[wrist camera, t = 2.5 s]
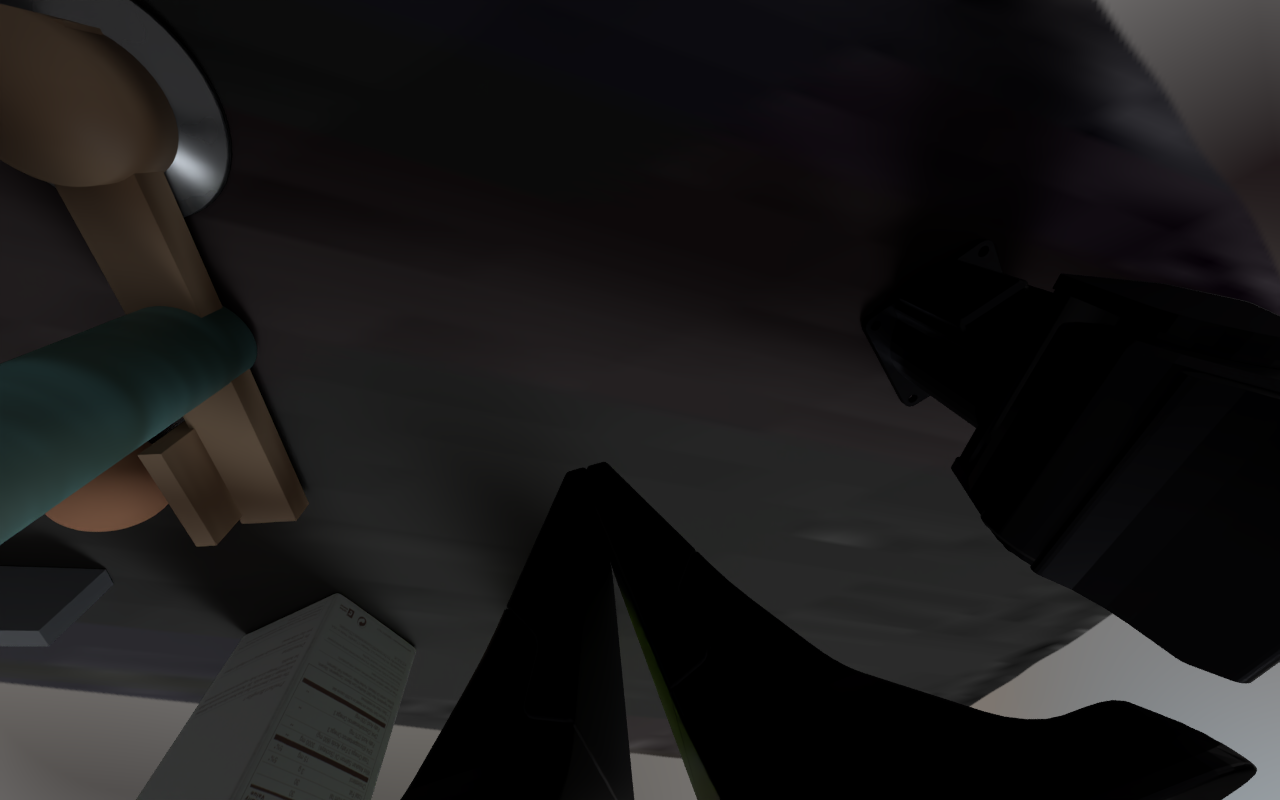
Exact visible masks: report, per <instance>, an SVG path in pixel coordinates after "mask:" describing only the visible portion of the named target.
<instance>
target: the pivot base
mask: <svg viewBox="0 0 1280 800" xmlns="http://www.w3.org/2000/svg"><path fill="white" fill-rule="evenodd" d="M0 4H4V5H8V6H12V7H16V8H20V9H24V10H29V11H33V12H37V13H41V14H45V15H50V16H54V17H58V18H62V19H66V20H70V21H74V22H77V23H80V24H84V25H88V26H92V27H96V28H100V29H101V31H102V34H104V35H106V36H107V37H109V38H110V39H112V40H114V41H115V42H116V43H118V44H119V45H120V46H122V47H123V48H125V49H126V50H127V51H128V52H129V53H130V54H132V55H133V56H134V57H135V58H136V59H137V60H138V61H139V62H140V63H141V64H142V65H143V66H144V67H145V68H146V69H147V70H148V72H149V73H150V74H151V75H152V76H153V78H154V79H155V80H156V82H157V83H158V85H159V86H160V87H161V89H162V91H163V92H164V94H165V96H166V97H167V99H168V101H169V104H170V106H171V108H172V110H173V113H174V116H175V119H176V123H177V128H178V137H179V141H178V150H177V154H176V157H175V159H174V161H173V163H172V164H171V166H170V167H169V168H168V169H167V170H166V171H165V172H164V175H165V177H166V179H167V182H168V184H169V186H170V188H171V191H172V193H173V195H174V197H175V200H176V202H177V204H178V207H179V209H180V211H181V213H182V216H183V217H187V216H190V215H193V214H195V213H198V212H199V211H201V210H203V209H205V208H206V207H208V206H209V205H210V204H211V203H212V202H213V201H215V200H216V198H217V197H218V196H219V195H220V193H221V192H222V190H223V188H224V186H225V184H226V182H227V180H228V177H229V173H230V170H231V162H232V142H231V136H230V130H229V126H228V123H227V119H226V116H225V112H224V110H223V108H222V105H221V103H220V100H219V98H218V96H217V94H216V92H215V90H214V88H213V86H212V84H211V83H210V81H209V79H208V77H207V76H206V74H205V73H204V71H203V70H202V68H201V67H200V65H199V64H198V62H197V61H196V60H195V58H194V57H193V56H192V55H191V53H190V52H189V51H188V50H187V48H186V47H185V46H184V45H183V44H182V43H181V42H180V40H179V39H178V38H177V37H176V36H175V35H174V34H173V33H172V32H171V31H170V30H169V29H168V28H167V27H166V26H165V25H164V24H163V23H161V22H160V21H159V20H158V19H157V18H156V17H155V16H154V15H153V14H151V13H150V12H149V11H147V10H146V9H145V8H143V7H142V6H141V5H140V4H138V3H137V2H136V1H134V0H0ZM48 183H49V182H48ZM49 184H51V185H52V186H54V187H55V185H54V184H53V183H49ZM55 188H56V187H55Z"/></svg>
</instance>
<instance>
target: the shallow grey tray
mask: <svg viewBox="0 0 1280 800" xmlns="http://www.w3.org/2000/svg"><path fill="white" fill-rule="evenodd" d="M112 585H113V582H112V580H111V578H110V577H109V575H108V573H107V571H106V569H79V568H48V567H17V566H0V646H50V645H51V644H52V643H53V642H54V641H55V640H56V639H57V638H58V637H59V636H60V635H61V634H62V633H64V632H65V631H66V630H67V629H68V628H69V627H70V626H71V625H72V624H73V623H74V622H75V621H76V620H77V619H78V618H79V617H80V616H81V615H82V614H83V613H84V612H85V611H86V610H87V609H88V608H89V607H91V606H92V605H93V604H94V603H95V602H96V601H97V600H98V599H99V598H100V597H101V596H102V595H103V594H104V593H105V592H106V591H107V590H108V589H109V588H110V587H111V586H112Z"/></svg>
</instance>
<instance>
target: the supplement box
mask: <svg viewBox="0 0 1280 800" xmlns="http://www.w3.org/2000/svg"><path fill="white" fill-rule="evenodd" d="M415 652H416V650H415V649H414V647H413V646H412V645H410V644H409V643H408V642H407V641H405V640H404V639H403V638H401V637H400V636H398V635H397V634H396V633H394V632H393V631H392V630H390V629H389V628H387V627H386V626H385V625H383V624H382V623H381V622H379V621H378V620H377V619H375V618H374V617H372V616H371V615H370V614H368V613H367V612H366V611H364V610H363V609H361V608H360V607H358V606H357V605H356V604H354V603H353V602H351V601H350V600H349V599H347V598H346V597H344V596H343V595H341V594H339V593H336V594H333V595H331V596H329V597H327V598H325V599H323V600H321V601H318V602H316V603H314V604H312V605H310V606H308V607H306V608H303V609H301V610H299V611H297V612H295V613H293V614H290V615H288V616H286V617H284V618H282V619H280V620H277V621H275V622H273V623H271V624H269V625H266V626H264V627H262V628H260V629H258V630H256V631H253V632H251V633H249V634H247V635H245V636H243V637H242V639H241V641H240V643H239V644H238V646H237V647H236V649H235V650H234V652H233V653H232V655H231V656H230V658H229V659H228V661H227V662H226V664H225V665H224V667H223V668H222V670H221V671H220V673H219V674H218V676H217V677H216V679H215V680H214V682H213V683H212V685H211V687H210V688H209V690H208V691H207V693H206V694H205V696H204V697H203V699H202V700H201V702H200V703H199V705H198V706H197V708H196V709H195V711H194V712H193V714H192V715H191V717H190V719H189V720H188V722H187V723H186V725H185V726H184V728H183V729H182V731H181V732H180V734H179V735H178V737H177V738H176V740H175V741H174V743H173V745H172V746H171V747H170V749H169V751H168V752H167V753H166V755H165V756H164V758H163V760H162V761H161V762H160V764H159V766H158V767H157V769H156V770H155V772H154V773H153V775H152V776H151V778H150V780H149V781H148V782H147V784H146V786H145V787H144V789H143V790H142V792H141V793H140V795H139V796H138V798H137V799H136V800H371V798H372V795H373V792H374V788H375V785H376V781H377V778H378V775H379V772H380V768H381V765H382V762H383V758H384V755H385V752H386V749H387V745H388V741H389V738H390V735H391V732H392V728H393V725H394V722H395V719H396V716H397V712H398V709H399V705H400V702H401V699H402V696H403V692H404V689H405V686H406V682H407V679H408V676H409V672H410V669H411V666H412V663H413V659H414V656H415Z"/></svg>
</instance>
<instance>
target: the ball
mask: <svg viewBox="0 0 1280 800" xmlns="http://www.w3.org/2000/svg"><path fill="white" fill-rule="evenodd" d="M151 445H152V444H151V443H149V442H146V443H144V444H143V445H141V446H140V447H139V448H137V449H136V450H134V451H133V452H131V453H130V454H129V455H127V456H126V457H124V458H123V459H121V460H120V461H119V462H117V463H116V464H114V465H113V466H112V467H110V468H109V469H107V470H106V471H104V472H103V473H102V474H100V475H99V476H97V477H96V478H95V479H93V480H92V481H90V482H89V483H87V484H86V485H85V486H83V487H82V488H80V489H79V490H77V491H76V492H75V493H73V494H72V495H70V496H69V497H68V498H66V499H65V500H63V501H62V502H60V503H59V504H58V505H56V506H55V507H53V508H52V509H51V510H49V511H48V512H46V513H45V514H46V515H47V516H48V517H49V518H50V519H52V520H53V521H55V522H56V523H58V524H60V525H63V526H65V527H68V528H71V529H75V530H80V531H88V532H106V531H114V530H120V529H124V528H128V527H131V526H134V525H137V524H139V523H141V522H144V521H146V520H148V519H149V518H151V517H153V516H154V515H156V514H157V513H158V512H160V511H161V510H162V509H164V508H165V507H166V505H167V504H168V502H167V500H166V499H165V497H164V496H163V494H162V492H161V491H160V489H159V488H158V486H157V485H156V483H155V482H154V480H153V479H152V477H151V475H150V474H149V472H148V471H147V469H146V468H145V466H144V465H143V463H142V461H141V460H140V458H139V457H138V454H139V453H141V452H142V451H144V450H145V449H146V448H148V447H149V446H151Z"/></svg>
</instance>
